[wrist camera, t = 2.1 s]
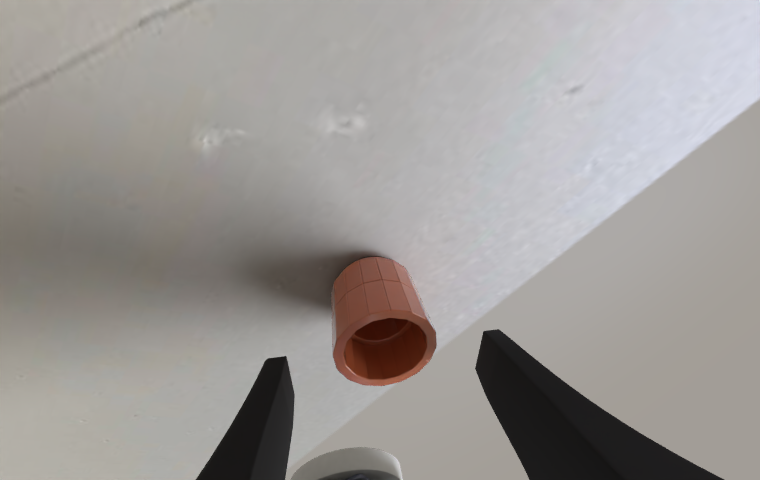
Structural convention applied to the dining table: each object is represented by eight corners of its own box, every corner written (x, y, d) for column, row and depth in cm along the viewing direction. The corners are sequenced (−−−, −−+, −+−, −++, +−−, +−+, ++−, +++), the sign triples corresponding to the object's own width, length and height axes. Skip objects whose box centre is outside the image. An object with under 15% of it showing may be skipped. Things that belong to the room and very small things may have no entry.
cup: (422, 292, 16) (452, 355, 12) (359, 327, 16) (368, 399, 12) (386, 237, 14) (408, 291, 10) (315, 279, 14) (311, 346, 11)
